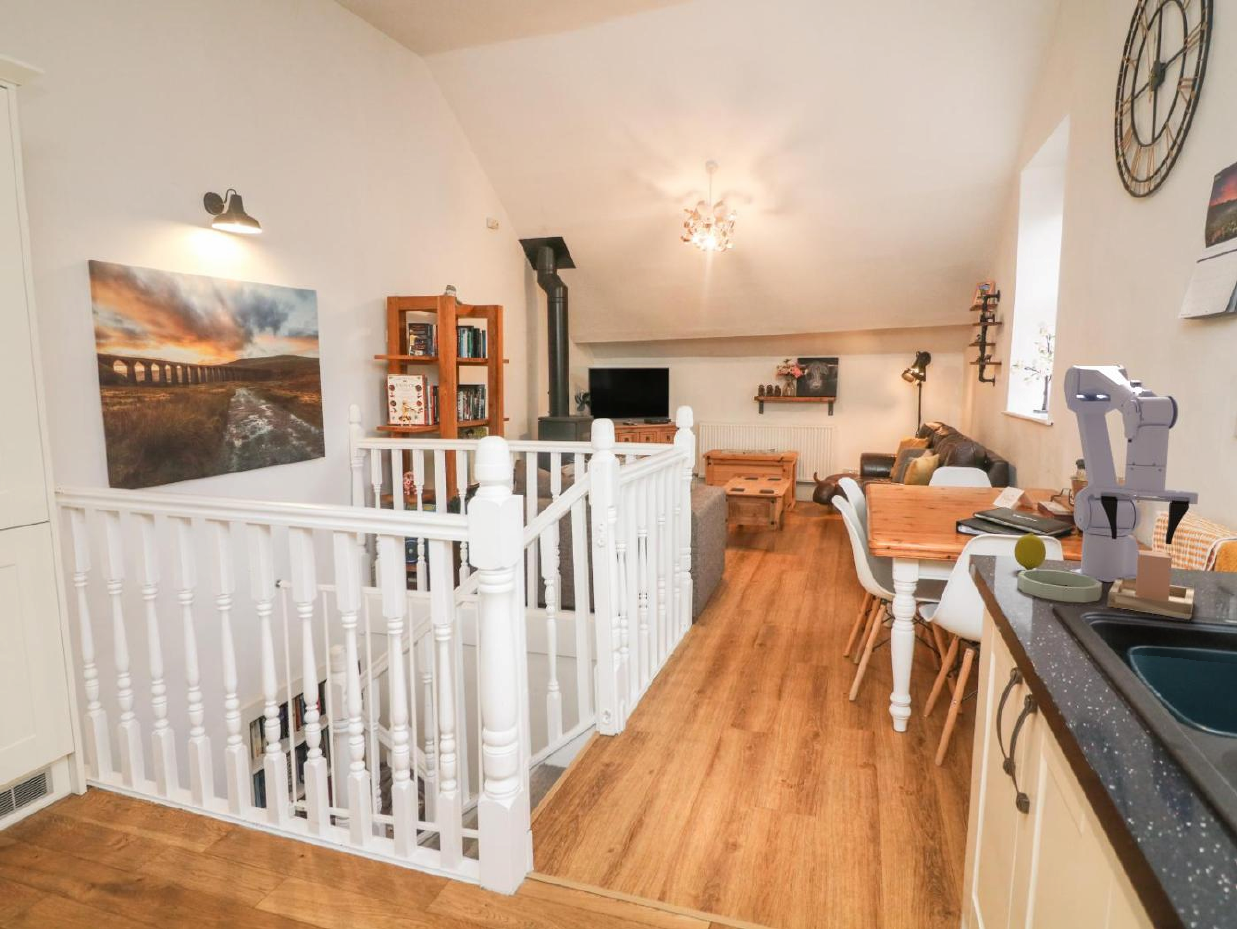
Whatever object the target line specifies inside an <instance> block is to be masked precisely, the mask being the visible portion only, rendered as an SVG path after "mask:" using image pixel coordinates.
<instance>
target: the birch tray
mask: <svg viewBox="0 0 1237 929" xmlns="http://www.w3.org/2000/svg"><path fill="white" fill-rule="evenodd" d="M1135 588H1136V579H1125V578H1118V577H1117V579H1116V581H1114V582H1113V584H1112V586H1111V588H1110V589H1109V591H1108V593H1107V608H1111V607H1114V608H1113V609H1117V608H1127V609H1133V610H1139V611H1148V612H1154V613H1159V614H1162V615H1174V616H1180V617H1187V618H1188V617H1189V618H1191V619H1192V614H1191V613H1192V612H1193V607H1194V598H1195V588H1194V587H1190V586H1189V587H1188V586H1181V585H1173V584H1170V589H1169V601H1168V600H1162V599H1155V598H1149V597H1142V596H1136V595H1135Z"/></svg>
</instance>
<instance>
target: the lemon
mask: <svg viewBox="0 0 1237 929" xmlns="http://www.w3.org/2000/svg"><path fill="white" fill-rule="evenodd" d="M1045 545H1046V544H1045V543H1044V540H1043V539H1042V538H1041V537H1039V536H1037V535H1036V534H1034V533H1033V532H1029V533H1027V534H1025V535H1022V536H1021V537H1019V538H1018V540H1017V541H1016V543H1015V546H1014V557H1015V560H1016V562H1017V563H1018V565H1020V566H1021V567H1023V568H1024V569H1025V570H1034V569H1037V568H1039V567H1040V566H1042V565H1043V563H1044V561H1045V560H1046V554H1047V551H1046V550H1047V549H1046V546H1045Z"/></svg>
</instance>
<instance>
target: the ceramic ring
mask: <svg viewBox="0 0 1237 929" xmlns="http://www.w3.org/2000/svg"><path fill="white" fill-rule="evenodd" d="M1065 585H1067V586H1065ZM1016 588H1018V589H1019V590H1020V591H1021V592H1023V593H1025V594H1028V595H1031V596H1033V597H1034V596H1035V597H1037V598H1040V599H1047V600H1052V601H1060V602H1068V603H1069V602H1070V603H1071V602H1072V603H1090V602H1097V601H1100V600H1101V598H1102V592H1103V581H1101V580H1097V579H1095V578H1092V577H1088V576H1085V575H1081V574H1077V573H1071V572H1070V571H1064V570H1063V571H1062V570H1057V569H1056V570H1055V569H1037V568H1034V569H1032V570H1026V569H1025V570H1021V571H1020V572H1019V573H1017V581H1016Z"/></svg>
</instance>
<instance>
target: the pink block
mask: <svg viewBox="0 0 1237 929" xmlns="http://www.w3.org/2000/svg"><path fill="white" fill-rule="evenodd" d="M1172 561H1173V557H1172V554H1171V553H1170V552H1162V551H1154V550H1143V549H1138V561H1137V574H1136V579H1135V580H1136V588H1135V595H1136V596H1142V597H1149V598H1155V599H1162V600H1168V601H1169V589H1170V585H1171V574H1172V563H1173V562H1172Z"/></svg>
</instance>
